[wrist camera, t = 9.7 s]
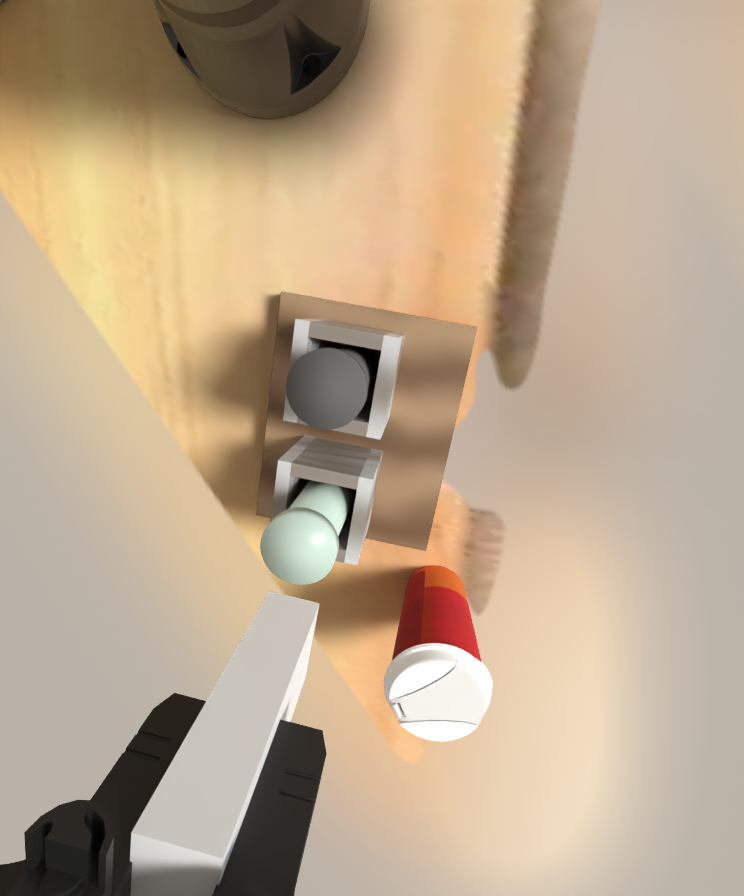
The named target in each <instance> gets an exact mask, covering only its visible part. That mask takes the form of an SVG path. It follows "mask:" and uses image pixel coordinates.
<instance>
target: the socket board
mask: <svg viewBox="0 0 744 896" xmlns="http://www.w3.org/2000/svg"><path fill="white" fill-rule="evenodd" d="M476 331H477V327H475V326H469V325H464V324H458V323H453V322H447V321H441V320H436V319H430V318H425V317H419V316H414V315H408V314H403V313H397V312H392V311H386V310H381V309H375V308H370V307H364V306H358V305H353V304H347V303H342V302H336V301H331V300H325V299H320V298H314V297H309V296H303V295H298V294H292V293H286V292H281V298H280V307H279V316H278V324H277V333H276V342H275V351H274V360H273V369H272V378H271V387H270V396H269V405H268V414H267V423H266V432H265V441H264V450H263V459H262V468H261V477H260V486H259V495H258V504H257V513H256V515H260V516H264V517H269V518H271V521H272V520H273V519H274V518H275V517H276V516H277V515H278V514H279V513H281V512H283V511H284V510H287V509H289V508H290V506H291V505H292V504H293V502H294V501H295V499H296V498H297V497H298V495H299V494H300V493H301V491H302V490H303V489H304V487H305V486H306V485H307V483H308V482H309V480H313V481H318V482H322V483H327V484H332V485H337V486H342V487H346V488H351V489H356V495H355V498H354V500H353V503H352V505H351V507H350V510H349V512H348V515H347V517H346V519H345V522H344V524H343V527H342V529H341V531H340V534H339V536H338V538H339V551H338V554H337V557H336V559H335V561H339V562H344V563H349V564H353V565H357V564H358V561H359V557H360V554H361V550H362V547H363V544H364V540H365V538H367V539H372V540H376V541H381V542H386V543H390V544H395V545H400V546H404V547H409V548H414V549H419V550H423V551H426V548H427V544H428V540H429V535H430V531H431V527H432V522H433V518H434V514H435V509H436V505H437V501H438V496H439V492H440V488H441V483H442V479H443V474H444V470H445V466H446V461H447V457H448V452H449V448H450V444H451V439H452V435H453V431H454V427H455V422H456V418H457V414H458V409H459V405H460V400H461V396H462V392H463V387H464V383H465V379H466V374H467V370H468V366H469V361H470V357H471V353H472V348H473V344H474V340H475V335H476ZM348 345H354V346H360V347H365V348H367V349H368V350H370V351H371V352H372V353H373V354H374V356H375V357H376V359H377V362H378V366H379V367H378V373H377V378H376V382H375V384H374V385H373V386H372V388H371V389H370V390H369V391H368V395H367V399H366V402H365V404H364V406H363V408H362V410H361V411H360V412H359V414H358V415H357V416H356V417H355V418H354V419H353V420H352V421H351V422H350V423H348V424H347V425H345V426H343V427H340V428H337V429H331V430H323V429H318V428H314V427H312V426H309V425H308V424H306V423H304V422H303V421H302V420H301V419H299V418H298V417H297V415H296V414H295V413H294V412H293V410H292V409H291V407H290V405H289V402H288V399H287V395H286V381H287V376H288V373H289V371H290V369H291V367H292V366H293V364H294V363H295V362H296V361H297V360H298V359H299V358H300V357H301V356H303V355H304V354H306V353H308V352H310V351H313V350H317V349H320V348H336V349H339V348H342V347H345V346H348Z"/></svg>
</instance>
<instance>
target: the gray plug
mask: <svg viewBox="0 0 744 896" xmlns="http://www.w3.org/2000/svg"><path fill="white" fill-rule="evenodd" d="M378 367H379V366H378V362H377V359H376V357H375V356H374V354H373V353H372V352H371V351H370V350H368V349H367V348H365V347H360V346H354V345H348V346H345V347H342V348H339V349H336V348H320V349H317V350H313V351H310V352H308V353H306V354H304V355H303V356H301V357H300V358H299V359H298V360H297V361H296V362H295V363H294V364H293V366H292V367H291V369H290V371H289V373H288V376H287V381H286V395H287V399H288V402H289V405H290V407H291V409H292V410H293V412H294V413H295V414H296V415H297V417H298V418H299V419H301V420H302V421H303V422H304V423H306V424H308V425H309V426H312V427H314V428H318V429H323V430H331V429H337V428H340V427H343V426H345V425H347V424H348V423H350V422H351V421H352V420H353V419H354V418H355V417H356V416H357V415H358V414H359V412H360V411H361V410H362V408H363V406H364V404H365V402H366V399H367V395H368V391H369V390H370V389H371V388H372V386H373V385H374V384H375V382H376V378H377V373H378Z"/></svg>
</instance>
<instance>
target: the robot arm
mask: <svg viewBox="0 0 744 896" xmlns="http://www.w3.org/2000/svg"><path fill="white" fill-rule="evenodd" d="M153 1H154V3H155V6H156V9H157V11H158V14H159V17H160V20H161V22H162V25H163V28H164V30H165V33H166V35H167V37H168V40H169V42H170V44H171V46H172V48H173V49H174V51H175V53H176V55H177V56H178V58H179V59H180V61H181V62H182V64H183V65H184V67H185V68H186V69H187V70H188V72H189V73H190V74H191V75H192V76H193V77H194V78H195V80H196V81H197V82H198V83H199V84H200V85H201V86H202V87H203V88H204V89H205V90H206V91H207V92H208V93H209V94H211V95H212V96H213V97H214V98H215V99H216V100H218V101H219V102H221V103H222V104H223V105H225V106H227V107H228V108H230V109H232V110H234V111H236V112H239V113H241V114H244V115H248V116H251V117H256V118H268V119H272V118H282V117H287V116H291V115H294V114H297V113H300V112H302V111H304V110H307V109H308V108H310V107H312V106H314V105H315V104H317V103H318V102H320V101H321V100H322V99H323V98H325V97H326V96H327V95H328V94H329V93H330V92H331V91H332V90H333V89H334V88H335V87H336V86H337V85H338V84H339V82H340V81H341V80H342V79H343V77H344V76H345V74H346V73H347V71H348V70H349V68H350V66H351V65H352V63H353V61H354V59H355V57H356V55H357V52H358V50H359V48H360V45H361V42H362V39H363V36H364V32H365V28H366V24H367V18H368V12H369V1H370V0H153ZM319 604H320V603H316V602H312V601H308V600H304V599H300V598H296V597H292V596H288V595H284V594H280V593H276V592H272V591H269V592H268V594H267V596H266V597H265V599H264V602H263V603H262V605H261V606H260V608H259V610H258V612H257V613H256V615H255V617H254V619H253V620H252V622H251V624H250V626H249V627H248V629H247V631H246V633H245V634H244V636H243V638H242V640H241V641H240V643H239V645H238V647H237V648H236V650H235V652H234V654H233V655H232V657H231V659H230V661H229V662H228V664H227V666H226V668H225V669H224V671H223V673H222V675H221V676H220V678H219V680H218V682H217V683H216V685H215V687H214V689H213V691H212V692H211V694H210V696H209V697H208V699H207V701H203V700H199V699H196V698H191V697H188V696H184V695H180V694H177V693H174V694H172V695H171V696H170V697H169V698H167V699H166V700H164V701H163V702H162V703H160V704H159V705H158V706H157V707H155V708H154V709H153V710H152V712H151V713H150V715H149V716H148V717H147V719H146V720H145V722H144V723H143V725H142V726H141V728H140V729H139V731H138V733H137V735H135V736H134V738H133V739H132V741H131V742H130V743H129V745H128V746H127V748H126V751H125V752H124V753H123V754H122V755H121V757H120V758H119V759H118V761H117V762H116V764H115V765H114V767H113V768H112V770H111V771H110V772H109V774H108V775H107V777H106V778H105V780H104V781H103V783H102V784H101V786H100V787H99V788H98V790H97V791H96V793H95V794H94V796H93V797H92V799H91V800H76V801H72V802H69V803H65V804H62V805H59V806H57V807H55V808H54V809H52V810H51V811H49V812H47V813H45V814H44V815H42V816H41V817H40V818H39V819H38V820H37V821H36V822H35V823H34V824H33V825H32V826H31V827H30V828H29V829H28V830H27V831H26V832H25V851H26V859H25V860H23V861H19V862H15V863H10V864H4V865H0V896H294V891H295V887H296V882H297V878H298V874H299V870H300V865H301V861H302V857H303V853H304V848H305V844H306V840H307V836H308V831H309V827H310V823H311V819H312V815H313V811H314V806H315V802H316V798H317V793H318V789H319V784H320V780H321V775H322V771H323V766H324V762H325V757H326V749H325V743H324V737H323V731H322V730H318V729H314V728H311V727H307V726H303V725H299V724H296V723H292V722H290V721H291V718H292V715H293V713H294V710H295V707H296V704H297V701H298V698H299V695H300V692H301V689H302V686H303V683H304V680H305V677H306V671H307V666H308V662H309V656H310V651H311V646H312V641H313V635H314V630H315V625H316V620H317V615H318V609H319Z"/></svg>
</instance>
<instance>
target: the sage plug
mask: <svg viewBox="0 0 744 896" xmlns="http://www.w3.org/2000/svg"><path fill="white" fill-rule="evenodd" d="M355 495H356V489H351V488H346V487H342V486H337V485H332V484H327V483H322V482H318V481H313V480H309V482H308V483H307V485H306V486H305V487H304V489H303V490H302V491H301V493H300V494H299V495H298V497H297V498H296V499H295V501H294V502H293V504H292V505H291V506H290V508H289V509H287V510H284V511H283V512H281V513H279V514H278V515H277V516H276V517H275V518H274V519H273V520H272V521H271V523H270V524H269V525H268V527H267V528H266V529H265V531H264V533H263V535H262V538H261V546H260V548H261V554H262V558H263V560H264V562H265V564H266V566H267V567H268V568H269V570H270V571H271V572H272V573H273V574H274V575H276V576H277V577H278V578H280V579H282V580H284V581H286V582H289V583H292V584H298V585H306V584H312V583H315V582H317V581H319V580H321V579H322V578H324V577H325V576H326V575H327V574H328V573H329V572H330V570H331V569H332V567H333V564H334V562H335V559H336V557H337V554H338V551H339V538H338V536H339V534H340V531H341V529H342V527H343V524H344V522H345V519H346V517H347V515H348V512H349V510H350V507H351V505H352V503H353V500H354V498H355Z"/></svg>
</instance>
